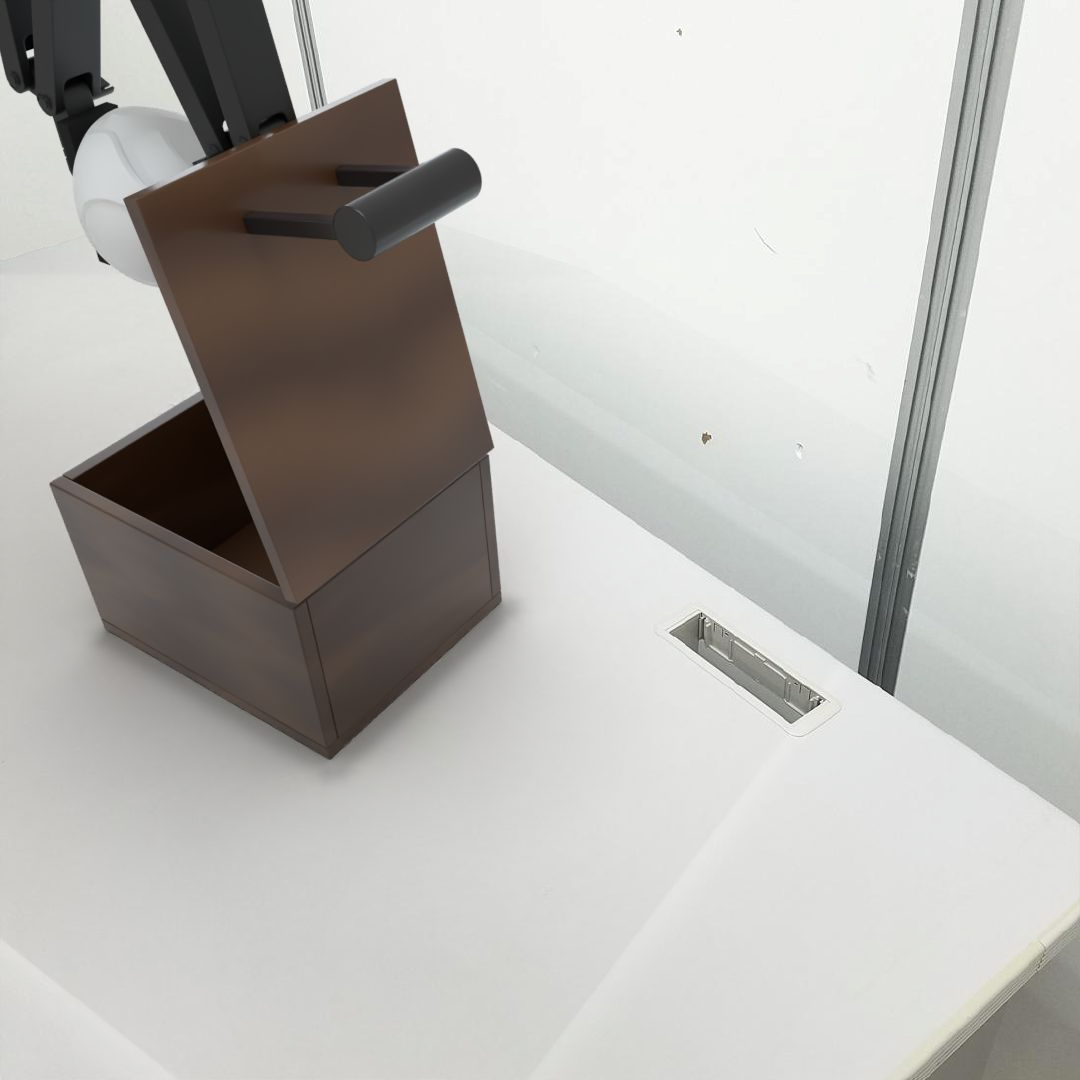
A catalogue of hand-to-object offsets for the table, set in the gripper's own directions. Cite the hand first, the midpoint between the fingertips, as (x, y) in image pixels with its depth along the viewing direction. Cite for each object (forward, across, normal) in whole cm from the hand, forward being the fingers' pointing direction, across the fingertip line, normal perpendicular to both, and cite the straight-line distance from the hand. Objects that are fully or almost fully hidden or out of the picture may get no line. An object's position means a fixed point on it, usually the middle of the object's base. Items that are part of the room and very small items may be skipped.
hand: (189, 274), depth 56 cm
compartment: (+19, +3, 0) cm, 19 cm away
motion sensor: (0, 0, 0) cm, 0 cm away
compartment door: (0, +9, -1) cm, 9 cm away
